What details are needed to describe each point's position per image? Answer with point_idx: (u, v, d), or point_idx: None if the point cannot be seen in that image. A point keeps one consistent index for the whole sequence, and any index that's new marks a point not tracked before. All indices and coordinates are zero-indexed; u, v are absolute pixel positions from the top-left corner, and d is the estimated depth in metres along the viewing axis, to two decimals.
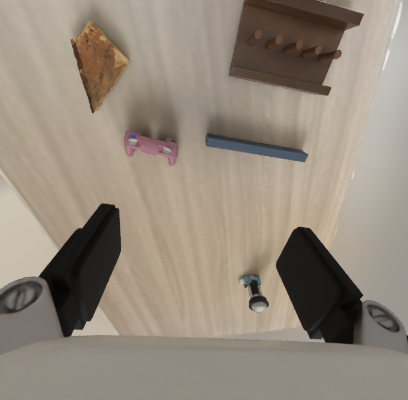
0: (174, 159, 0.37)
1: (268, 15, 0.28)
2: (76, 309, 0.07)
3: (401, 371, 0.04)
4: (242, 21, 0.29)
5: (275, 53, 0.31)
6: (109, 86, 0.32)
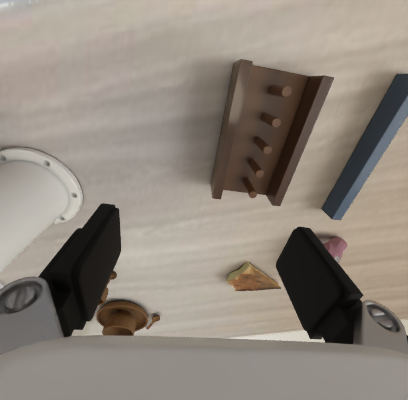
0: (343, 247, 0.34)
1: None
2: (76, 309, 0.07)
3: (401, 371, 0.04)
4: (231, 189, 0.30)
5: (259, 152, 0.27)
6: (265, 277, 0.41)
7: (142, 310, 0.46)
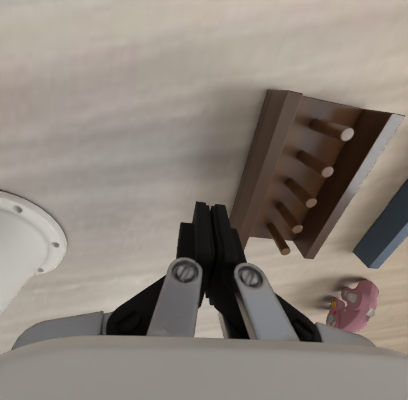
0: (376, 295, 0.30)
1: None
2: None
3: (401, 371, 0.04)
4: (252, 236, 0.25)
5: (291, 195, 0.22)
6: None
7: None
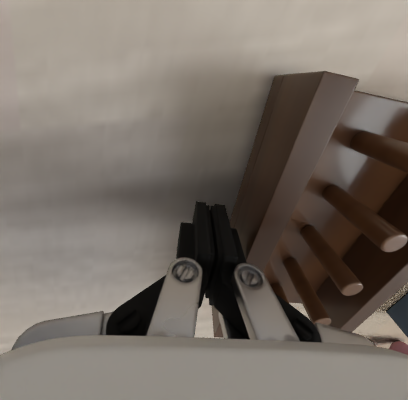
0: None
1: None
2: None
3: (401, 371, 0.04)
4: None
5: (308, 249, 0.14)
6: None
7: None
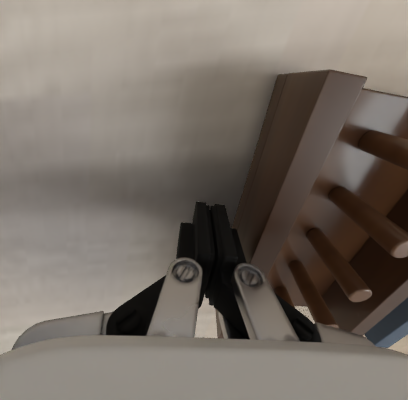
0: None
1: None
2: None
3: (401, 371, 0.04)
4: None
5: (314, 252, 0.13)
6: None
7: None
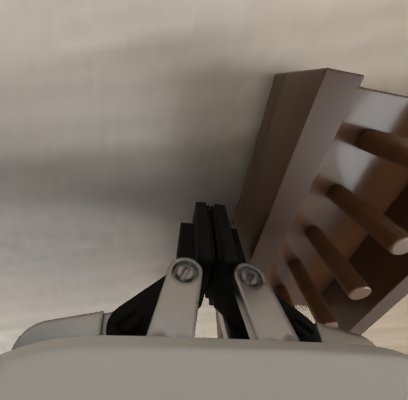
0: None
1: None
2: None
3: (401, 371, 0.04)
4: None
5: (313, 250, 0.13)
6: None
7: None
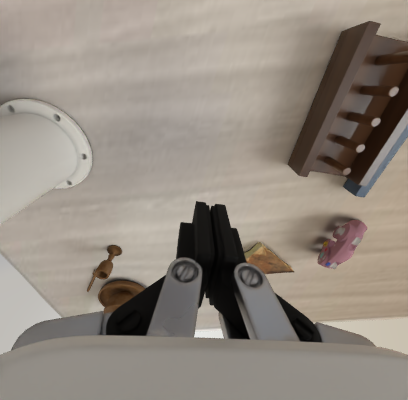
0: (363, 229, 0.33)
1: None
2: None
3: (401, 371, 0.04)
4: (310, 169, 0.29)
5: (349, 129, 0.26)
6: (278, 259, 0.39)
7: None
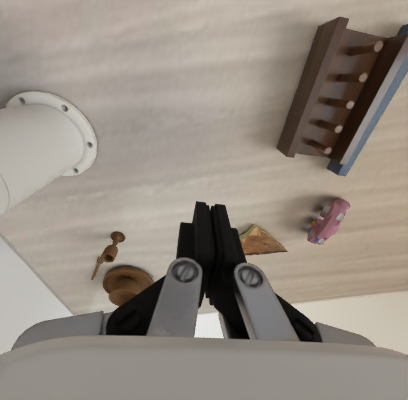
0: (346, 206, 0.36)
1: None
2: None
3: (401, 371, 0.04)
4: (297, 152, 0.32)
5: (330, 114, 0.29)
6: (271, 240, 0.42)
7: (148, 276, 0.47)
